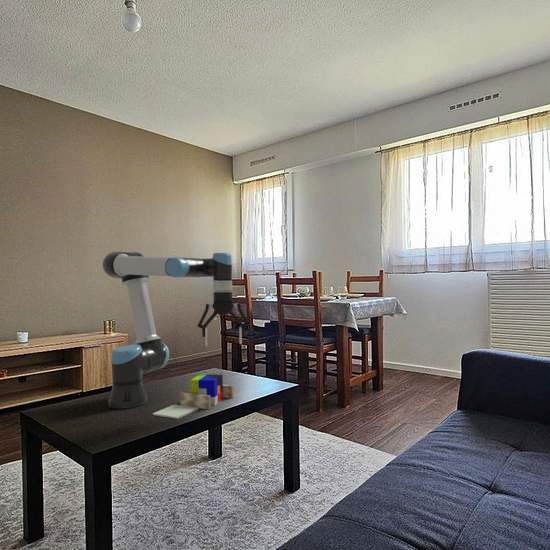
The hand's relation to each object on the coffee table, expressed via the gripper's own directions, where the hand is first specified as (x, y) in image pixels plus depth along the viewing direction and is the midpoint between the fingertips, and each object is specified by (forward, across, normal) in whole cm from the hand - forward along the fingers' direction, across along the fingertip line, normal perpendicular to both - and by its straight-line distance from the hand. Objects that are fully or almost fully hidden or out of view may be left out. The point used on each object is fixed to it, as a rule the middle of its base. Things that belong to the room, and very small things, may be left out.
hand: (223, 344), depth 166 cm
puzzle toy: (+24, -7, +5) cm, 26 cm away
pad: (+24, -19, -6) cm, 31 cm away
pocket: (+24, -7, +5) cm, 25 cm away
